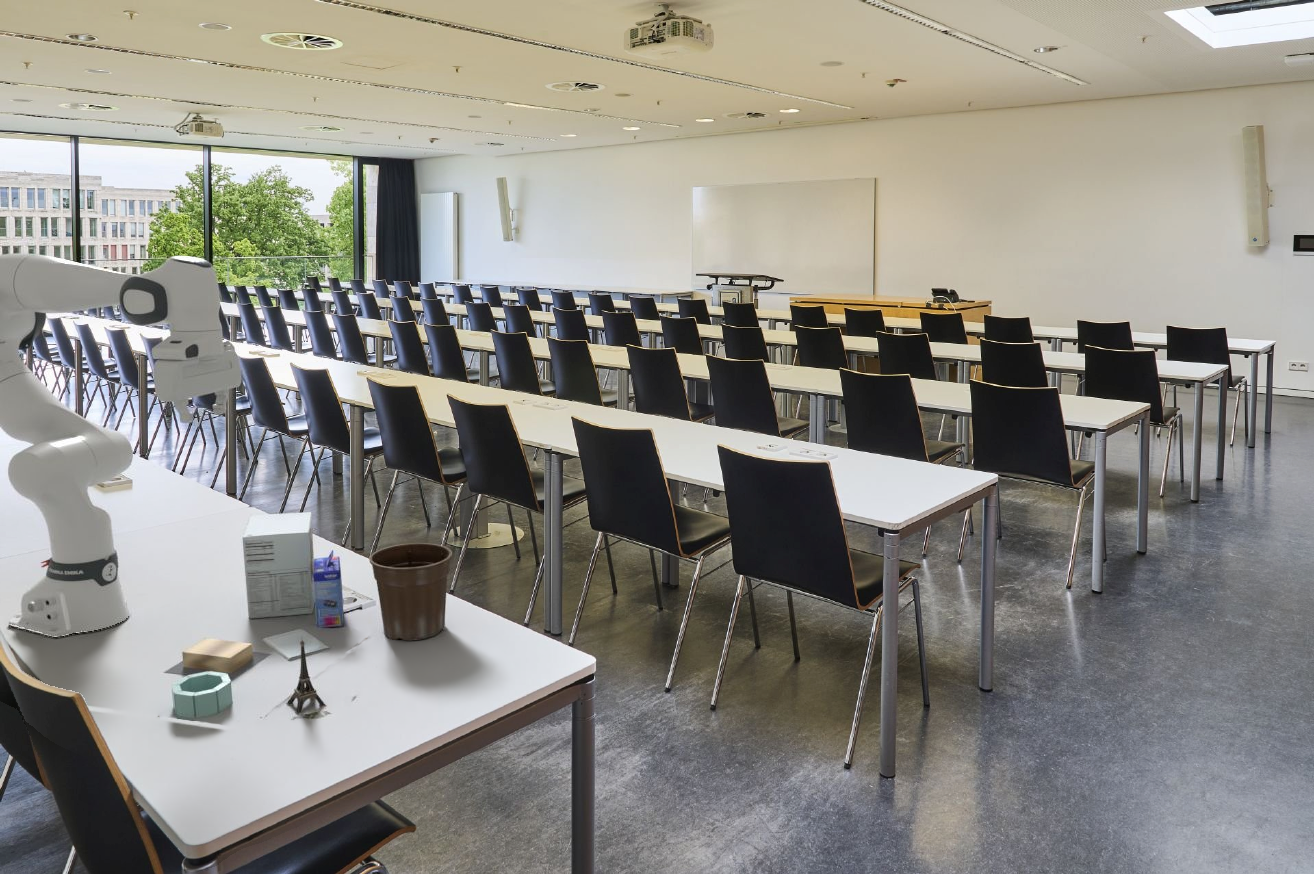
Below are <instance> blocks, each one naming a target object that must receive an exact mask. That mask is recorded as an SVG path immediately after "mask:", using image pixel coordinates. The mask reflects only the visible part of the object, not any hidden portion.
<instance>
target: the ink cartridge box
mask: <svg viewBox="0 0 1314 874" xmlns="http://www.w3.org/2000/svg"><path fill="white" fill-rule="evenodd" d="M340 560H341V559H340V556H334V550H333V549H332V550H331V552H330V553H329V555H328V556H327V557H319V558H314V568H313V582H314V598H315V602H314V607H315V608H314V609H315V618H316V619H315V621H316V627H318V628H335V627H336V628H337V627H342V626H344V599H343V584H342V582H343V581H342V570H341V561H340Z"/></svg>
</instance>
